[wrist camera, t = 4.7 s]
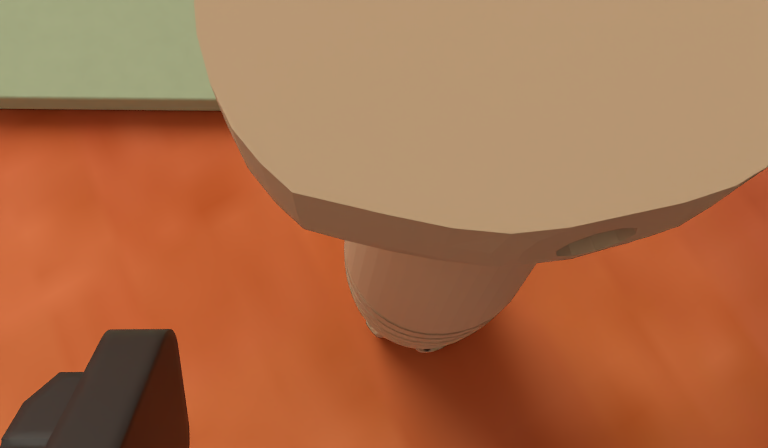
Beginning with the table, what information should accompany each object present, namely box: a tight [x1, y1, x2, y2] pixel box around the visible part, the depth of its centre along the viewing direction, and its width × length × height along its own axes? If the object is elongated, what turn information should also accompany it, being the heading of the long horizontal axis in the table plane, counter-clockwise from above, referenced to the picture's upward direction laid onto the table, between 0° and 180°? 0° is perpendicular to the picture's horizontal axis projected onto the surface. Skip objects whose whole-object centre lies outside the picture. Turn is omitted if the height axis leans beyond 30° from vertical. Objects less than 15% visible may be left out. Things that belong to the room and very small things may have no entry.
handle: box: [194, 0, 768, 353], centre depth 14 cm, size 5×6×15 cm
